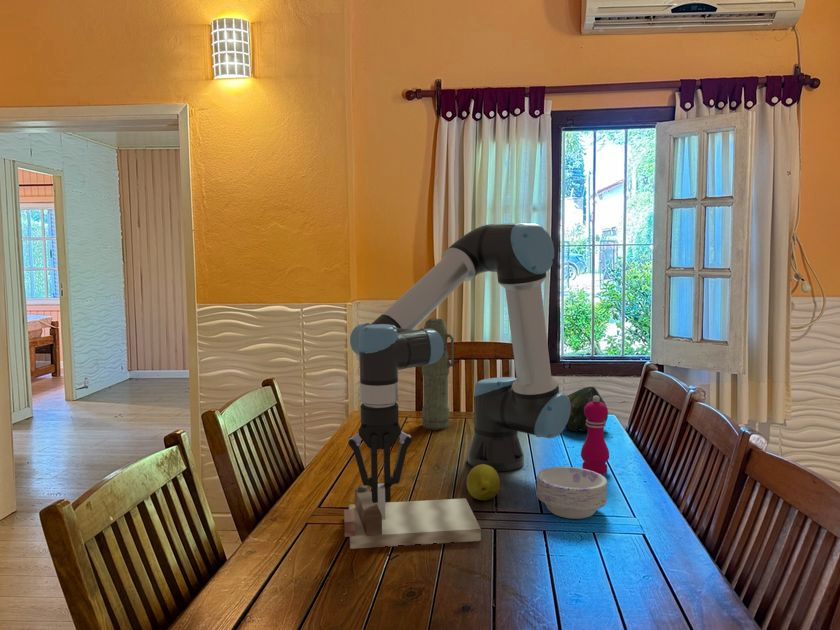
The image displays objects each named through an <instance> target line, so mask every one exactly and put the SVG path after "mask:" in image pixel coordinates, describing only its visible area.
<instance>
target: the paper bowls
mask: <svg viewBox="0 0 840 630" xmlns="http://www.w3.org/2000/svg"><path fill="white" fill-rule="evenodd" d="M536 496H537V497H536V498H538V500H539V501H541V502H542V503H544V504H545V506H546V508H547V510H548V511H549V512H550V513H552V514H553V515H555V516H557V517H561V518H565V519H568V520H581V519H586V518H589V517H592V516H593V515H594V514H595V513H596V511H597V510H598V509H601V508H604V506H606V505H607V502H608V480H607V478H606V477H605V476H604V475H603V474H602V475H601V474H599V473H597V472H594V471H591V470H587V469H583V468H582V467H576V466H575V467H574V466H573V467H572V466H553V467H546V468H544V469H542V470H540V471H539V472H538V473H537V475H536Z"/></svg>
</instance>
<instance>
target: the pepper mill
mask: <svg viewBox="0 0 840 630" xmlns="http://www.w3.org/2000/svg"><path fill="white" fill-rule="evenodd" d="M599 401H600V398H599V396H594V397H593V401H592V402H589V403H588V404H587V405H586V406H585V408H584V414H585V416H586V417H587V419H586V425H587V427H588V431H587V435H586V437H585V440H584V443H583V445H582V446H581V450H580V457H581V459H582V460H583V462H582V466H581V468H583V469H587V470H591V471H594V472H597V473H599V474H601V475H602V476H603V475H605V474H607V472H608V465H607V462H608V461H609V459H610V449H609V447H608V445H607V443H606V440H605V437H604V429H605V427H606V426H607V425H606V424H605V423H607V421H605V418H606V417H607V415H608V416H609V410H608V406H607V405H605V404H606V403H605V404H604V403H602V402H599ZM606 406H607V407H606Z"/></svg>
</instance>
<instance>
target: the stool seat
mask: <svg viewBox="0 0 840 630" xmlns="http://www.w3.org/2000/svg"><path fill="white" fill-rule="evenodd" d="M376 504H377V503H376ZM343 512H344V513H343V516H344V537H346V538H347V537H349V549H350V550H351V549H353V550H355V549H369V548H385V546H388V547H399V546H398V545H404V546H415V544H421V545H432V544H433V543H437V544H450V543H451V542H454V543H468V542H481V541H482V538H481V537H482V535H481V534H482V528H481V527H480V524H479V522H478V520H477V519H476V516H475V514H474V512H473V510H472V508H471V506H470V505H469V502H468V500H467V498H463V497H462V498H450V499H449V498H448V499H429V500H427V499H426V500H410V501H408V500H407V501H390V502H385V520H382V535H376V536H366V533H365V530H364V528H363V525H362V523H361V520H360V517H359V515H358V512H357V510H356V507H355V503H354V504H353V503H351V504H348V509H344V510H343ZM433 545H434V544H433Z"/></svg>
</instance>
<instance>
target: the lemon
mask: <svg viewBox="0 0 840 630" xmlns="http://www.w3.org/2000/svg"><path fill="white" fill-rule="evenodd" d="M465 480H466V482H465V483H466V488H467V490H468V493H469V494H470V496H471V497H472V498H474V499H475V500H478V501H488V500H491V499H493V498H495V497H496V496H497V494H498V493H499V491H500V488H501V483H500V482H501V481H500V476H499V474H498V471H496V470H495V469H494V468H493V467H491V466H489V465H485V464H481V465H477V466H475V467H472V468H471V469H470V470H469V473H468V474H467V476H466V479H465Z"/></svg>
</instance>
